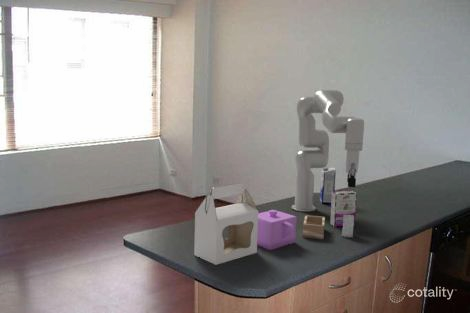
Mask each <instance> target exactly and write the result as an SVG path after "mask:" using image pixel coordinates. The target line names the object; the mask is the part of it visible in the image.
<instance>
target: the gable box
mask: <svg viewBox="0 0 470 313" xmlns="http://www.w3.org/2000/svg"><path fill="white" fill-rule="evenodd" d="M244 185H245V184H244V183H243V182H239V183H238V182H237V183H232V184H226V185H220V186H214V187H212V188H211V189H209V190H208V191H209V194H208V195H206V196H205V198H204V199H203V201H202V202H201V203H200V205H199V206H198V208H197V209H196V211H195V212H194V244H193V245H194V250H193V251H194V253H193V254H194V256H195V257H197V258H199V257H200V259H201V260H205V261H206V262H208V263H211V264H213V265H215V266H218V265H220V264H224V263H227V262H230V261H234V260H236V259H240V258H244V257H246V256H251V255H255V254H257V253H258V251H257V250H258V245H257V234H258V213H259V210H258V208H257V206H256V203H255V202H254V200H253V198H252V196H251V195H250V193H249V189H245V186H244ZM237 195H238V198H237V201H236V203H233V204H228V205H225V206H224V205H223V206H220V207H216V205H215V204H216V203H215V200H216V199H222V198H226V197H232V196H237ZM226 227H228V236H227V238H225V239H224V238H223V231H224V229H225V228H226Z"/></svg>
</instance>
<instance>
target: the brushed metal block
mask: <svg viewBox="0 0 470 313" xmlns="http://www.w3.org/2000/svg"><path fill="white" fill-rule="evenodd" d="M353 225H354V215H343V227H342V232H341V237H342V236H344V237H343V238H351V237H352V238H354V237H353V236H354V226H353Z"/></svg>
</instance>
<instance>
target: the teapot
mask: <svg viewBox="0 0 470 313" xmlns="http://www.w3.org/2000/svg"><path fill="white" fill-rule="evenodd" d="M296 228H297V216H296V215H293V214H288V213H286V212H282V211H279V210H276V209H270V210H268V211H263V212H258V234H257V247H261V248H264V249H266V250H269V251H271V250H275V249H278V248H281V247H285V245H286V246H288V244H289V245H292V244H295V243H296V231H297V230H296Z"/></svg>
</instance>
